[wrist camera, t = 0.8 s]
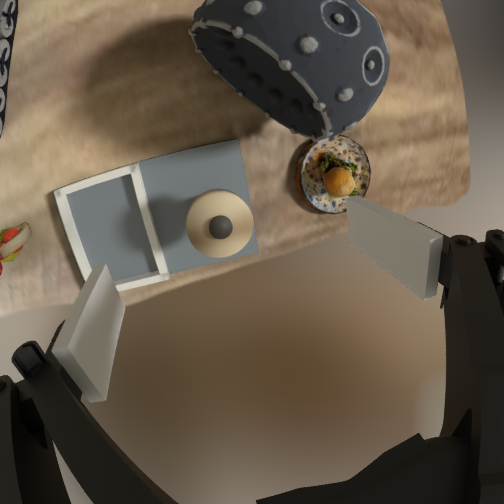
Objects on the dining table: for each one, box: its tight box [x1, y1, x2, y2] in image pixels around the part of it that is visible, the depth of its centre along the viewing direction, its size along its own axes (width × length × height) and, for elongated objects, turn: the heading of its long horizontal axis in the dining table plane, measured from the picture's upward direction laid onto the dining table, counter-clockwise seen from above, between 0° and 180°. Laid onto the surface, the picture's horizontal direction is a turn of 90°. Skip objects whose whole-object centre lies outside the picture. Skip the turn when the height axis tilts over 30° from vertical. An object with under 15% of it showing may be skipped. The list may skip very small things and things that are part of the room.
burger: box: [295, 134, 371, 214], centre depth 38 cm, size 12×12×8 cm
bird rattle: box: [0, 222, 31, 275], centre depth 29 cm, size 6×11×9 cm
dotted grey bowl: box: [188, 0, 390, 142], centre depth 25 cm, size 11×20×20 cm, turn 49°
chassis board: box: [52, 139, 259, 292], centre depth 36 cm, size 16×26×4 cm, turn 100°
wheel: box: [186, 189, 254, 258], centre depth 31 cm, size 7×7×3 cm
